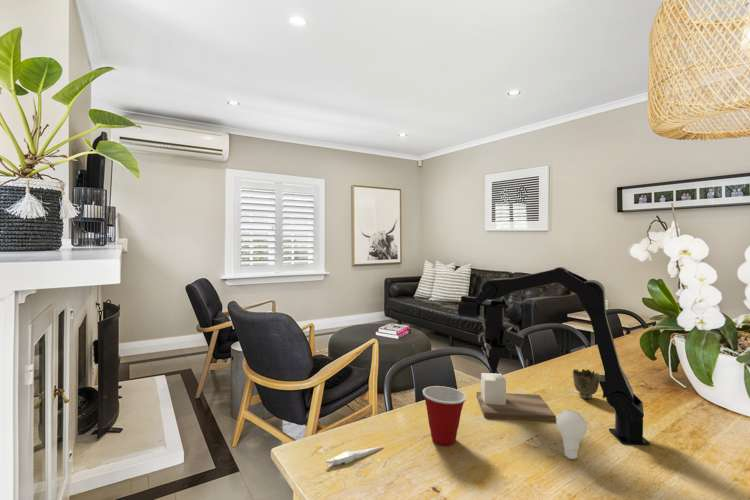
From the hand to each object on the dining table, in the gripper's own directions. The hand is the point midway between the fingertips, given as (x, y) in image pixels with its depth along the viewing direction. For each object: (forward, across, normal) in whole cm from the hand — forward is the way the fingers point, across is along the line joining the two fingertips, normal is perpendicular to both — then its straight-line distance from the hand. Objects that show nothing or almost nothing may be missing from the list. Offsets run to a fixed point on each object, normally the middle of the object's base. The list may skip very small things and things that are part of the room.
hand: (493, 372), depth 112 cm
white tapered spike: (+10, -31, +37) cm, 49 cm away
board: (+10, -2, -5) cm, 11 cm away
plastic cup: (+10, -21, +16) cm, 29 cm away
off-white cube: (+8, 0, 0) cm, 8 cm away
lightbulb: (+10, -26, -12) cm, 31 cm away
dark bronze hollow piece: (+10, +8, -30) cm, 33 cm away
